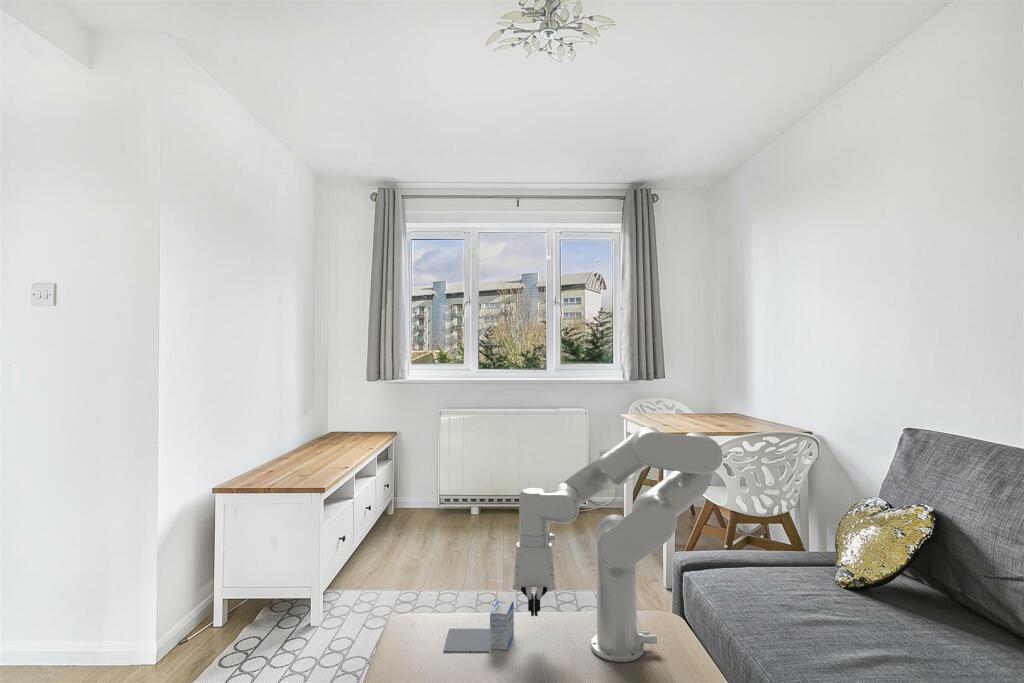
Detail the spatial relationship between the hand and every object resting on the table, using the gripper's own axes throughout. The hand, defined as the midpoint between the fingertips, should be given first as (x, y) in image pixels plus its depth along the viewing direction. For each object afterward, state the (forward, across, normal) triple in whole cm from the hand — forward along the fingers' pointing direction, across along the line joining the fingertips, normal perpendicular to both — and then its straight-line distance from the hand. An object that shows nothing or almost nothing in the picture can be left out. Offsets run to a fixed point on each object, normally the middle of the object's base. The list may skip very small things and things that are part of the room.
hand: (534, 613), depth 133 cm
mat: (+7, +16, 0) cm, 18 cm away
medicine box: (+7, +8, 0) cm, 11 cm away
